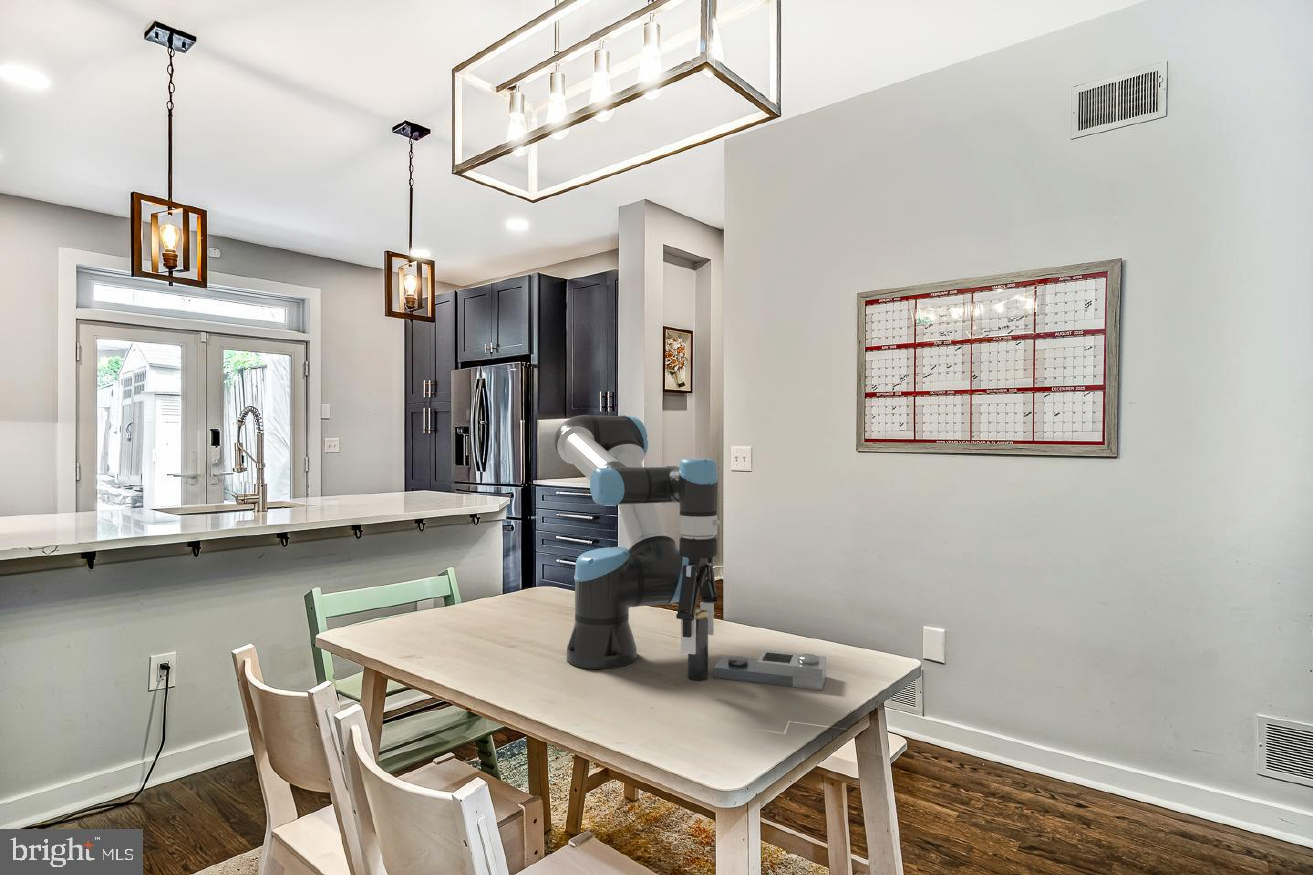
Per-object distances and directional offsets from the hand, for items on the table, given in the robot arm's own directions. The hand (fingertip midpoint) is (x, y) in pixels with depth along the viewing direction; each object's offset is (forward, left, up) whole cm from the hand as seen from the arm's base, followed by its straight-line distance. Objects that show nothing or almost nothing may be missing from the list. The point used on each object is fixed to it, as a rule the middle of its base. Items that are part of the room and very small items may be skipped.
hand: (698, 643), depth 136 cm
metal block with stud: (+13, +5, -7) cm, 15 cm away
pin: (0, 0, -7) cm, 7 cm away
